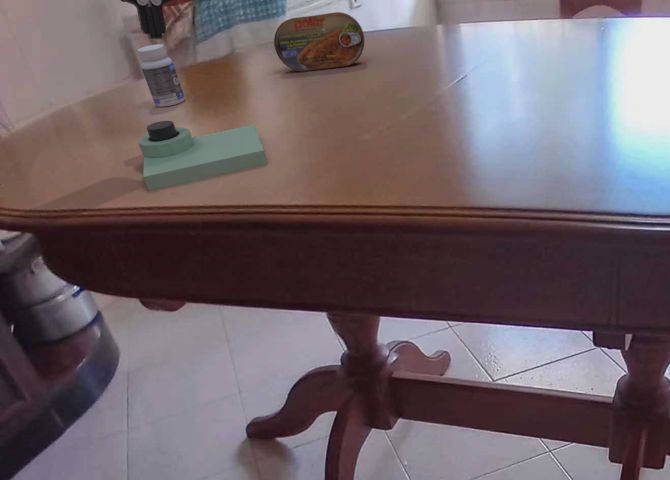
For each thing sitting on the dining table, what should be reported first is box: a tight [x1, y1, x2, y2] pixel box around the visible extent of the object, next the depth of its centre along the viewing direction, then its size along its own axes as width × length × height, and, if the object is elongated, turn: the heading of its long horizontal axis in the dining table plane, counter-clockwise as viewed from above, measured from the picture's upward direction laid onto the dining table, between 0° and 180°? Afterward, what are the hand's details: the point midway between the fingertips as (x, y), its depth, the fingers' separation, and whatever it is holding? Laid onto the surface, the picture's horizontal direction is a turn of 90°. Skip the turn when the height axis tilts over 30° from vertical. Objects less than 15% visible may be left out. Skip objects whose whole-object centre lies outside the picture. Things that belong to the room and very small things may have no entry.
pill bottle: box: [137, 43, 186, 108], centre depth 110 cm, size 5×5×8 cm
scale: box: [137, 124, 269, 192], centre depth 87 cm, size 14×12×4 cm
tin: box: [273, 11, 365, 73], centre depth 118 cm, size 15×3×8 cm, turn 92°
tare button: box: [146, 120, 178, 142], centre depth 87 cm, size 3×3×2 cm
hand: (155, 38), depth 92 cm, fingers closed
